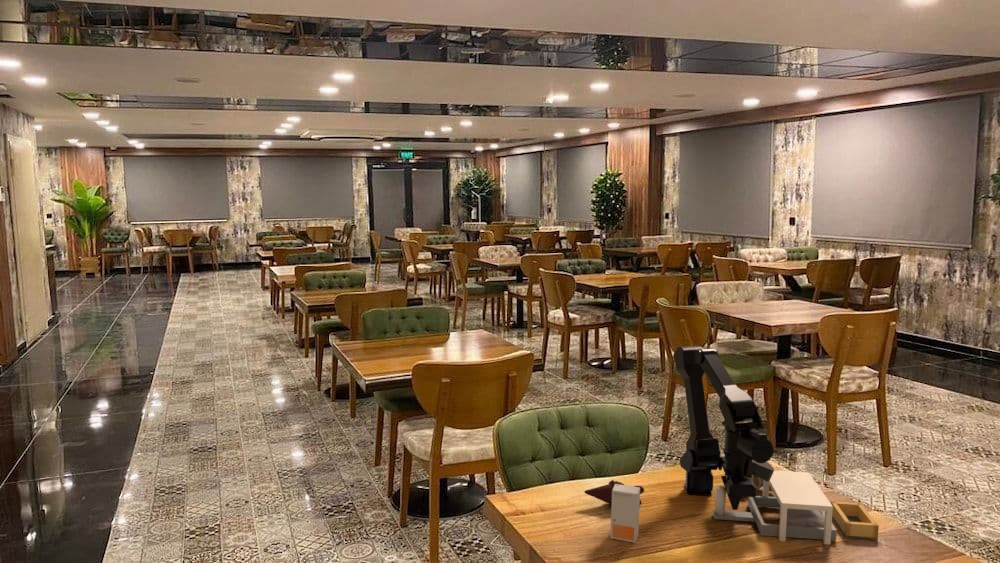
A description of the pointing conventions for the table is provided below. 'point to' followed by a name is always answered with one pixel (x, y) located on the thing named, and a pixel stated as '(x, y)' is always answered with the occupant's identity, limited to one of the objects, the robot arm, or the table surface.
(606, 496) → the icecream
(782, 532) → the white miniature table
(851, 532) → the tan wooden open box
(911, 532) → the table surface
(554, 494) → the table surface
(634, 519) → the skincare box
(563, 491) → the table surface
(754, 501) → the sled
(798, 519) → the stone block
